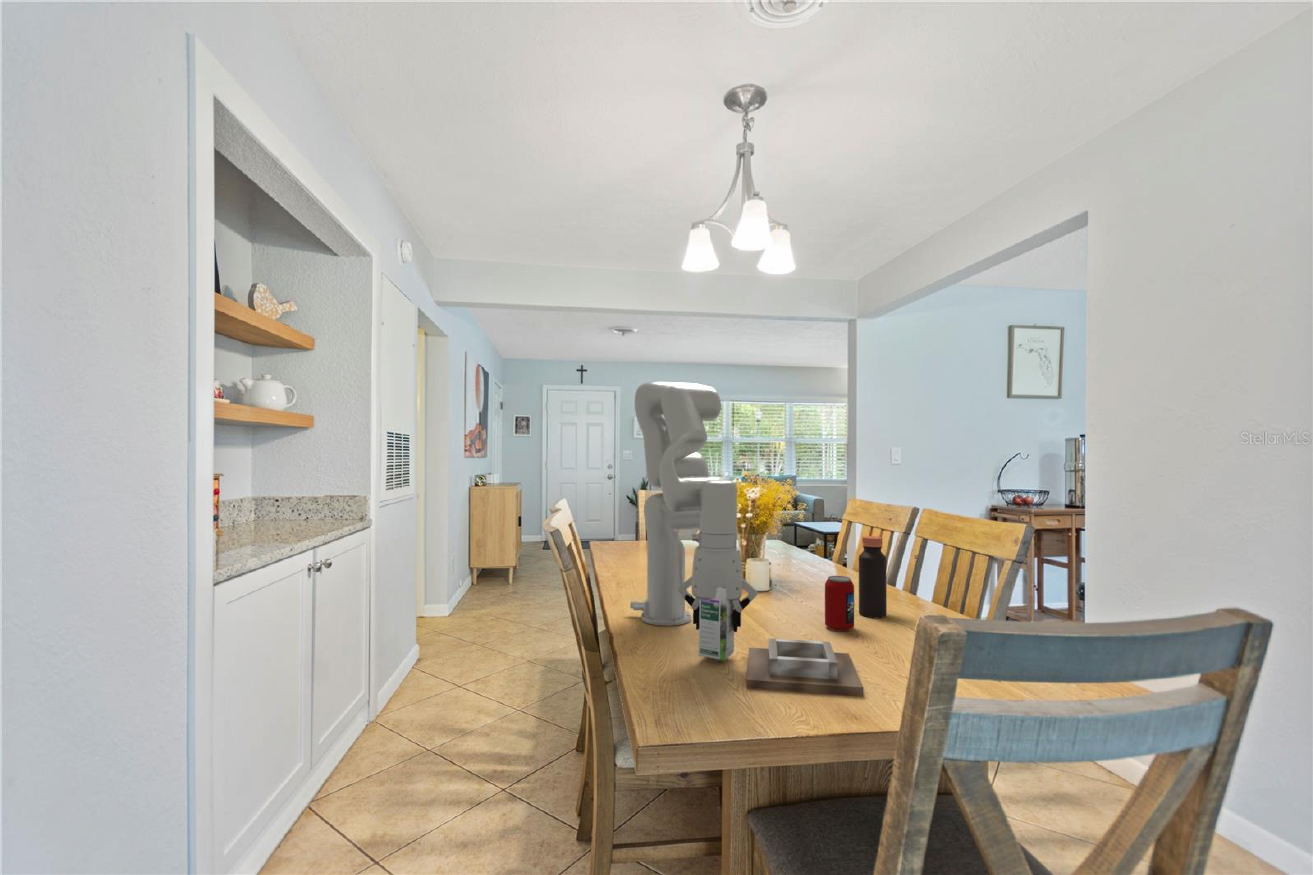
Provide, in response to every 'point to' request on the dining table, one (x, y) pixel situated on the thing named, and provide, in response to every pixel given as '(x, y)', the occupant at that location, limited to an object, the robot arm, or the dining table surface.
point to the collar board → (802, 668)
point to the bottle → (872, 578)
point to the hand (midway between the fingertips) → (716, 628)
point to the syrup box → (716, 626)
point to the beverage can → (839, 603)
